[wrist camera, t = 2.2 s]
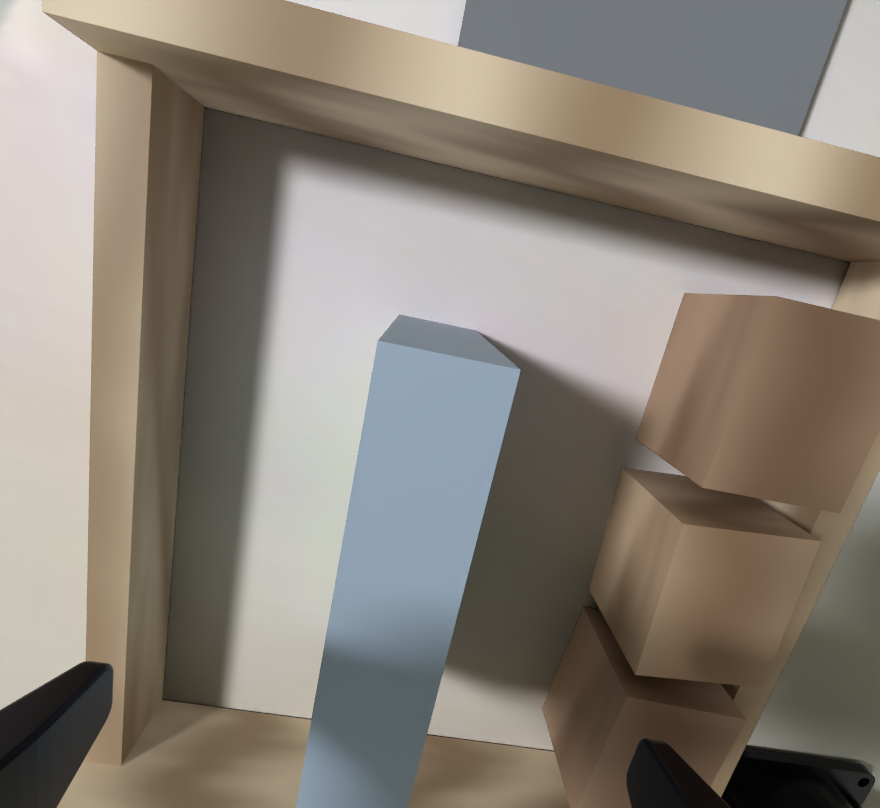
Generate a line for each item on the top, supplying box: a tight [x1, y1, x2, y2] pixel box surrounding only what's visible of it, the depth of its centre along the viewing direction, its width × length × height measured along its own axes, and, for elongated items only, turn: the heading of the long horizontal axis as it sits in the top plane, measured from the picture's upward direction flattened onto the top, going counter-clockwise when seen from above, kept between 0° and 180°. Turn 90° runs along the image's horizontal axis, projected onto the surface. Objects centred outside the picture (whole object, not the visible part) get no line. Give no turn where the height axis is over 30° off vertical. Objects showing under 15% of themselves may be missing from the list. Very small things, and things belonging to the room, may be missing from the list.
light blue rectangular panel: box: [296, 315, 521, 808], centre depth 13 cm, size 2×12×7 cm, turn 168°
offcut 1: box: [636, 293, 880, 514], centre depth 13 cm, size 4×5×4 cm
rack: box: [42, 0, 880, 808], centre depth 14 cm, size 22×23×4 cm
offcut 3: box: [542, 607, 747, 808], centre depth 16 cm, size 4×5×4 cm
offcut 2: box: [589, 468, 822, 688], centre depth 15 cm, size 4×5×4 cm
